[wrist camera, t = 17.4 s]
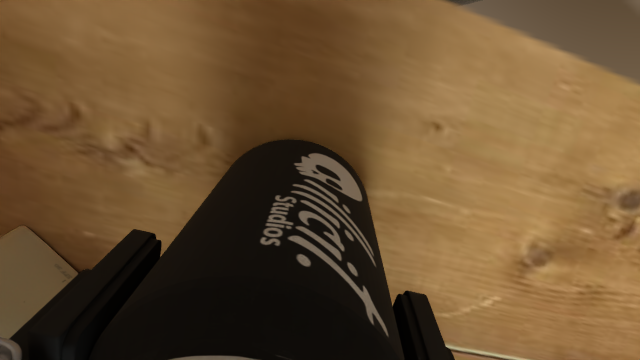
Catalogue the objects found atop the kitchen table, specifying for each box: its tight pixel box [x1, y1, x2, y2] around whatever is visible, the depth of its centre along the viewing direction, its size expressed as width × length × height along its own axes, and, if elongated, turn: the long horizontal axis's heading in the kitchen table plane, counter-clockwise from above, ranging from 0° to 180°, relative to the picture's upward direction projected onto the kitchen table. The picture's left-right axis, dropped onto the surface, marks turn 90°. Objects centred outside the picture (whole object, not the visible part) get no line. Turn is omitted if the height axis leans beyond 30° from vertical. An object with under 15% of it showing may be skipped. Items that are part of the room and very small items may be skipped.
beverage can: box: [88, 139, 405, 360], centre depth 12 cm, size 7×7×12 cm
